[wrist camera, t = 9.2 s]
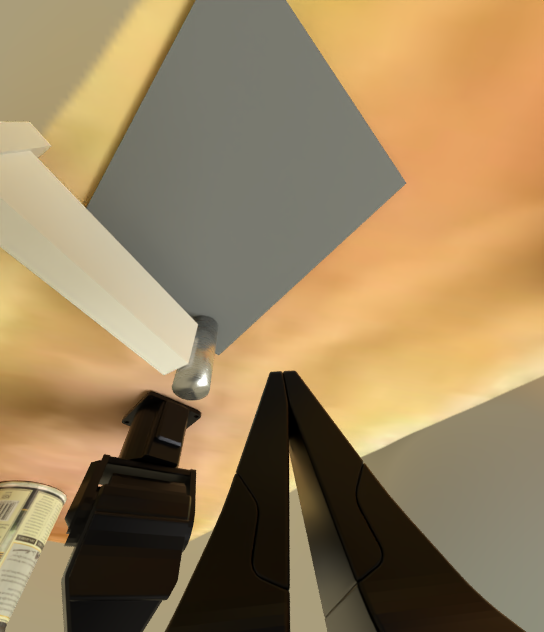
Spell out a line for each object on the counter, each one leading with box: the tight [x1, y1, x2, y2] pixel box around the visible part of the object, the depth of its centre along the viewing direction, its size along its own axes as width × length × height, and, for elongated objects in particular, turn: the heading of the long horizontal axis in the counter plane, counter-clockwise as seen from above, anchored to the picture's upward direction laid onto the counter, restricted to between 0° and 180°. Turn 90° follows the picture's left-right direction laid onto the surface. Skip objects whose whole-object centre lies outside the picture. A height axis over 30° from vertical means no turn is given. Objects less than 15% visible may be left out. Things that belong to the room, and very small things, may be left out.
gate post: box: [172, 315, 218, 400], centre depth 20 cm, size 2×2×7 cm
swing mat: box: [86, 0, 406, 355], centre depth 18 cm, size 20×14×1 cm
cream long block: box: [0, 121, 198, 375], centre depth 15 cm, size 14×2×6 cm, turn 29°
